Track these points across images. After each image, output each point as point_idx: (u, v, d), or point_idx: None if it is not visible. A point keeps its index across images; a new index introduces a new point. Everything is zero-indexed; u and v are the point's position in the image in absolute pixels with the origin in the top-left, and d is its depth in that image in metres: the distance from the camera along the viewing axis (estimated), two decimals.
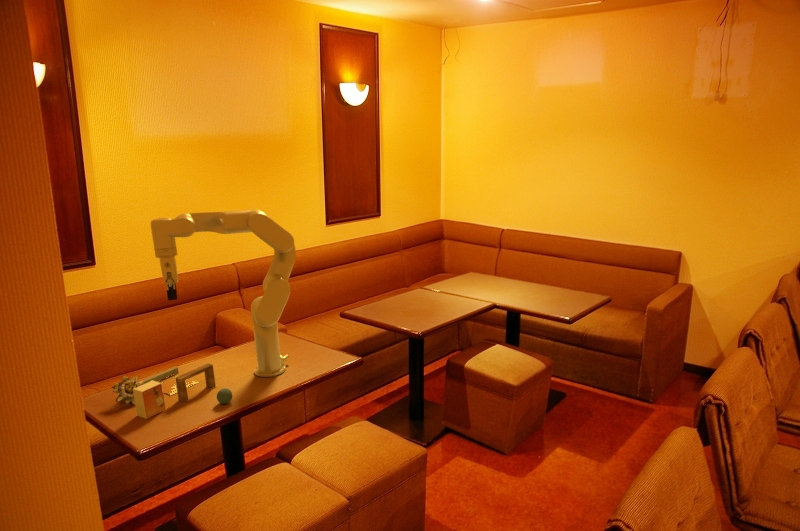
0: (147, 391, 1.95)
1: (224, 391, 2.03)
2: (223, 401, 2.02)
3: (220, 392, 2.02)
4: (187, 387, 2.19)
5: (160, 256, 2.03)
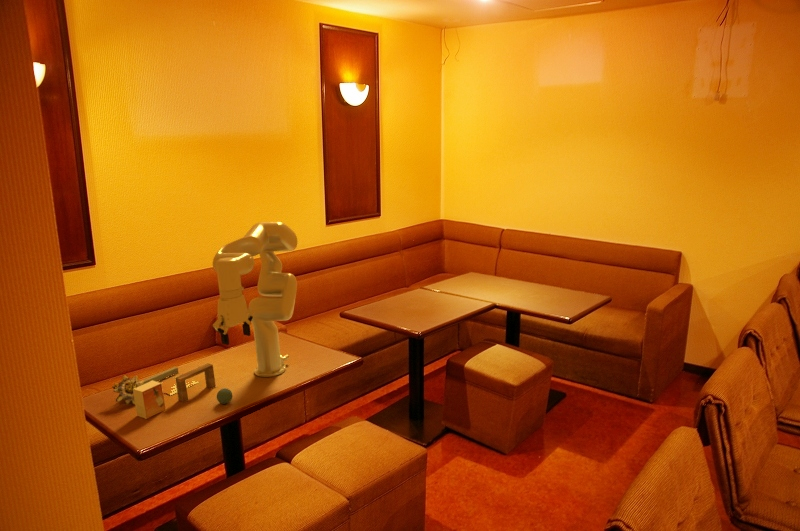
0: (147, 391, 1.95)
1: (224, 391, 2.03)
2: (223, 401, 2.02)
3: (220, 392, 2.02)
4: (187, 387, 2.19)
5: None
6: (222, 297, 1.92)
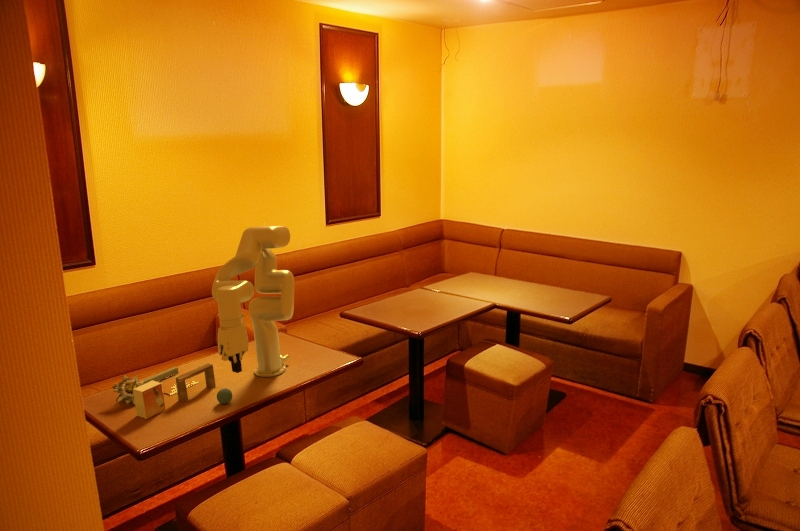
0: (147, 391, 1.95)
1: (224, 391, 2.03)
2: (223, 401, 2.02)
3: (220, 392, 2.02)
4: (187, 387, 2.19)
5: (242, 322, 1.94)
6: (222, 326, 1.89)
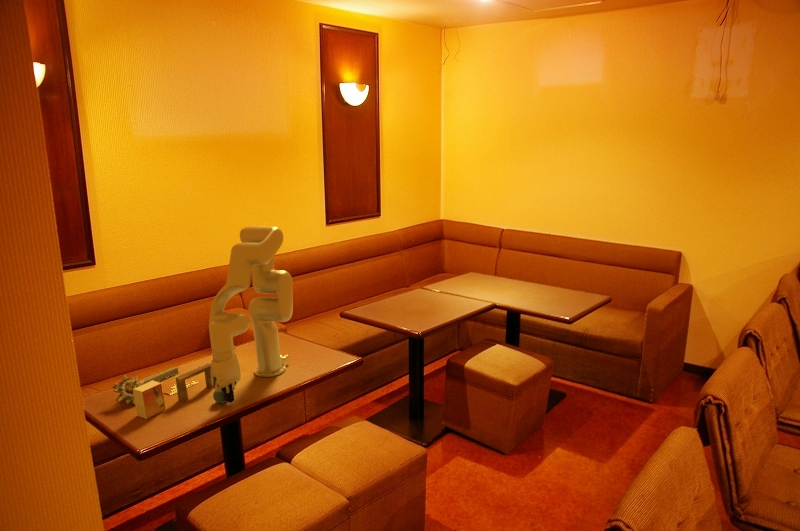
0: (147, 391, 1.95)
1: None
2: (219, 399, 2.02)
3: (215, 391, 2.04)
4: (187, 387, 2.19)
5: (234, 354, 2.00)
6: (215, 359, 1.96)
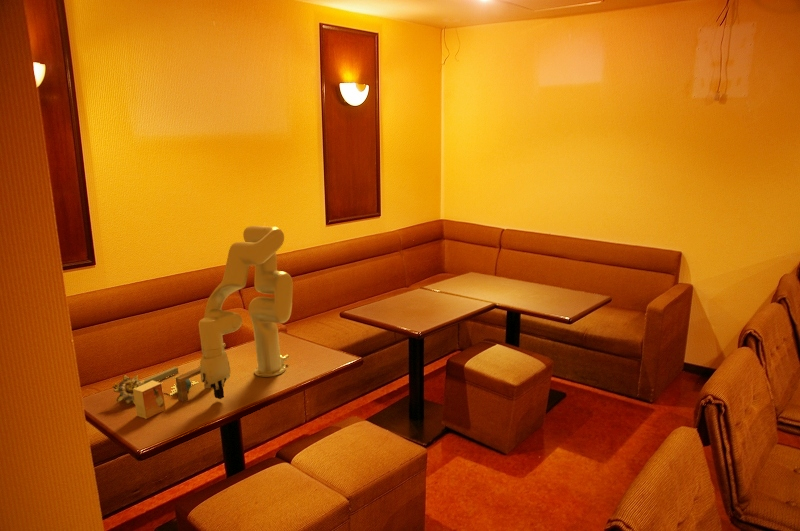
0: (147, 391, 1.95)
1: None
2: None
3: None
4: None
5: (224, 351, 2.03)
6: (204, 356, 1.99)
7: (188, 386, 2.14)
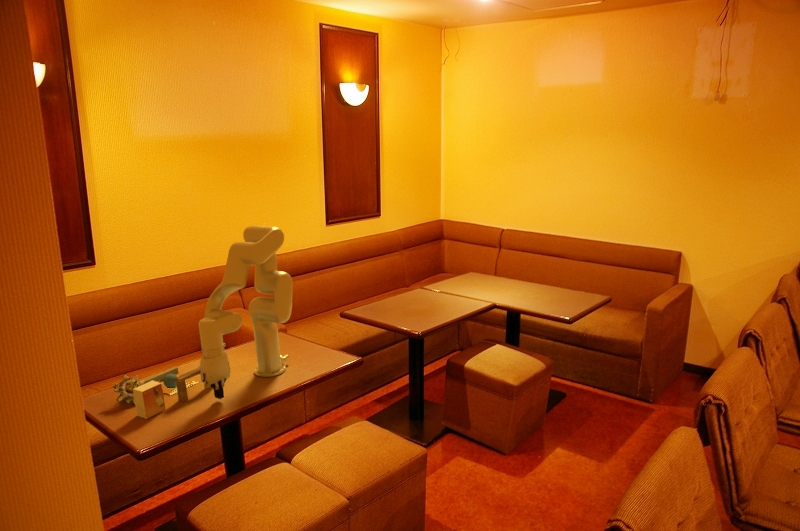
0: (147, 391, 1.95)
1: (172, 387, 2.18)
2: (164, 384, 2.18)
3: (170, 385, 2.17)
4: (187, 387, 2.19)
5: (224, 351, 2.03)
6: (204, 356, 1.99)
7: None
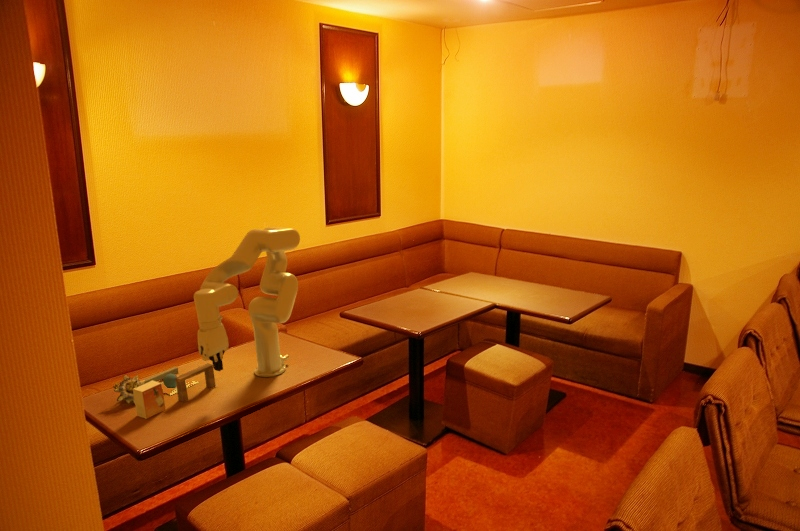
0: (147, 391, 1.95)
1: (172, 387, 2.18)
2: (164, 384, 2.18)
3: (170, 385, 2.17)
4: (187, 387, 2.19)
5: (221, 323, 2.01)
6: (201, 328, 1.97)
7: None
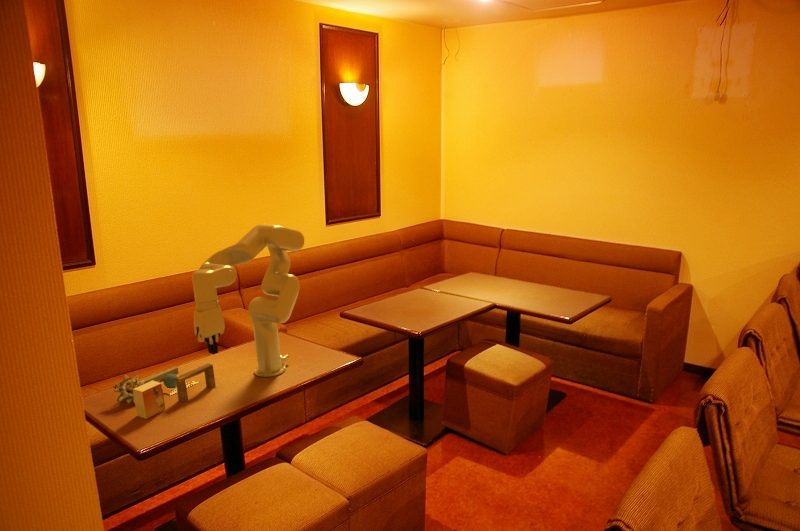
0: (147, 391, 1.95)
1: (172, 387, 2.18)
2: (164, 384, 2.18)
3: (170, 385, 2.17)
4: (187, 387, 2.19)
5: (218, 305, 1.99)
6: (198, 308, 1.95)
7: None
